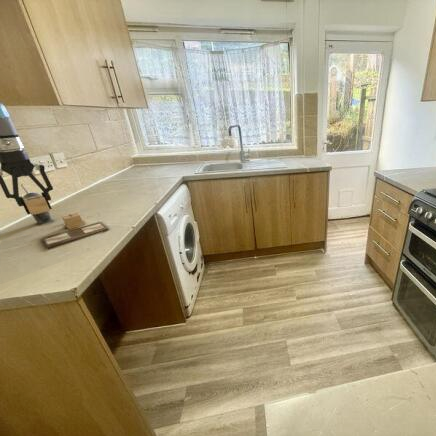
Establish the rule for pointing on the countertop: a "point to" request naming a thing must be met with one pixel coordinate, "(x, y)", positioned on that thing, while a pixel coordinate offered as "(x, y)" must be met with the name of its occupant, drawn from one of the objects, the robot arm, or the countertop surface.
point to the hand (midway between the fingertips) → (39, 210)
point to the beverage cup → (39, 217)
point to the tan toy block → (36, 205)
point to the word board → (73, 235)
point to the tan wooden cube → (72, 220)
